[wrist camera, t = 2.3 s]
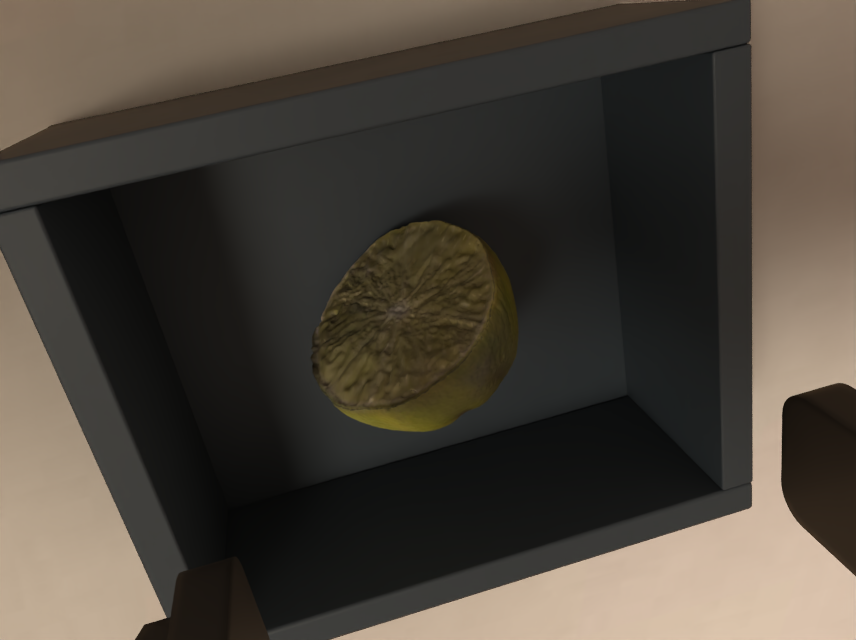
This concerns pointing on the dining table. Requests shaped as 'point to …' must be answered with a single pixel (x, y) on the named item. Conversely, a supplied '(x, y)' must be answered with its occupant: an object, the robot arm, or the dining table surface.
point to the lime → (417, 329)
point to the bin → (344, 244)
